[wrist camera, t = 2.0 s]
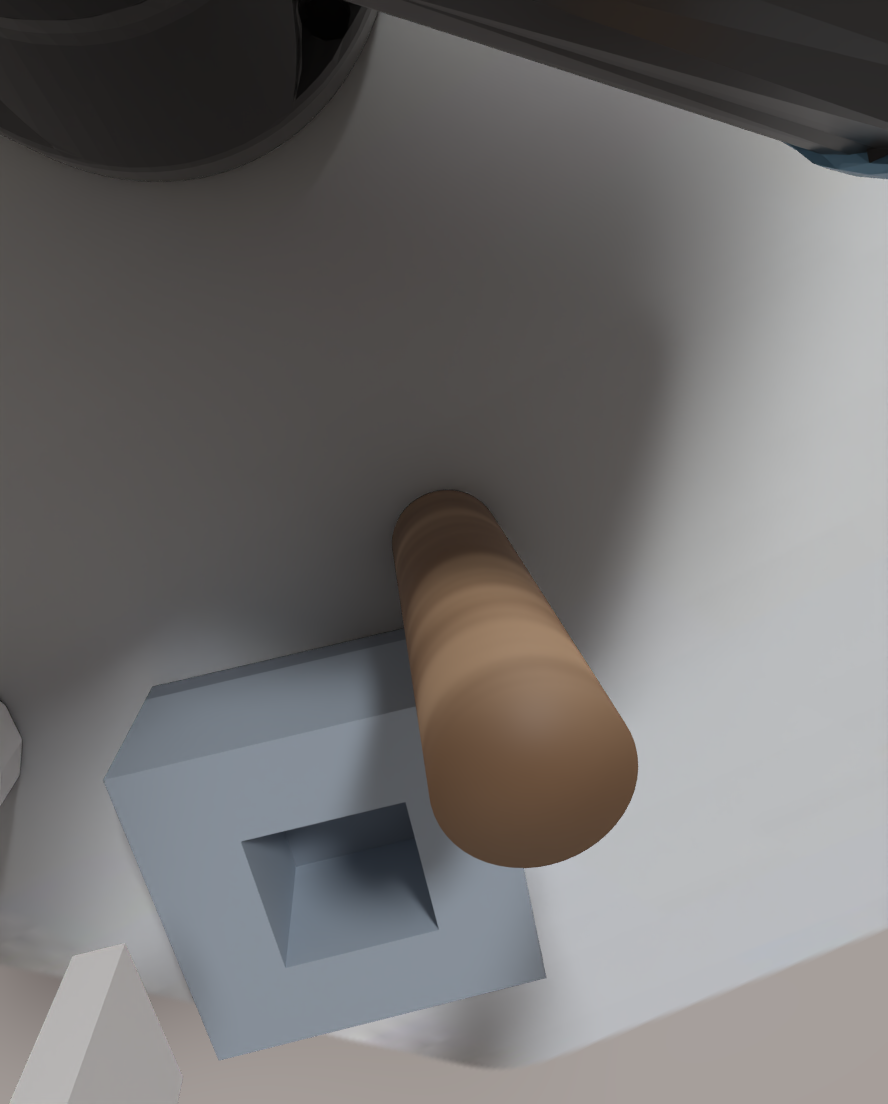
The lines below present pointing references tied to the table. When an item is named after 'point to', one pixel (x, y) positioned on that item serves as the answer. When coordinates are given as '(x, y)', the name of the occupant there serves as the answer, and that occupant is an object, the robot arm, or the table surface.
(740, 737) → the table surface
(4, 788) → the white cup
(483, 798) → the walnut dowel
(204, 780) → the socket block
